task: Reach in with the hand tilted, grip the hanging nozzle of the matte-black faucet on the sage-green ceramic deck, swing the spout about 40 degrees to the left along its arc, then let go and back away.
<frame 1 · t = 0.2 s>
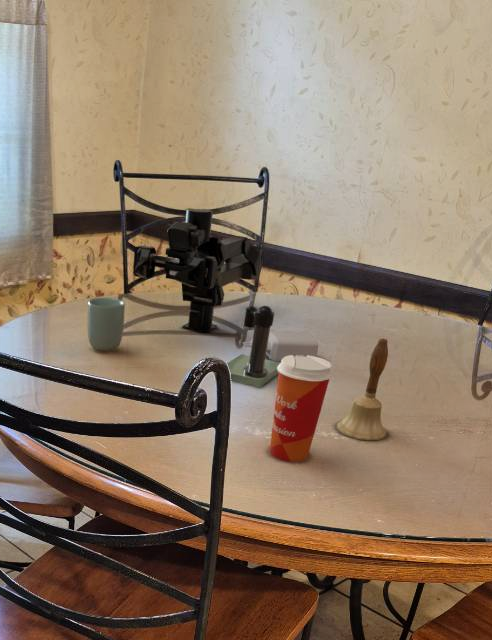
hand: (155, 273, 145), 17 cm above the table, tool horizontal, fingers open, 9 cm apart
spout: (257, 318, 139), point 12 cm above the table, hinge at 0.0°
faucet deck: (249, 373, 146), on the table
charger: (275, 357, 157), on the table
hand bell: (360, 431, 123), on the table
coffee cup: (288, 455, 114), on the table
cup: (104, 349, 156), on the table
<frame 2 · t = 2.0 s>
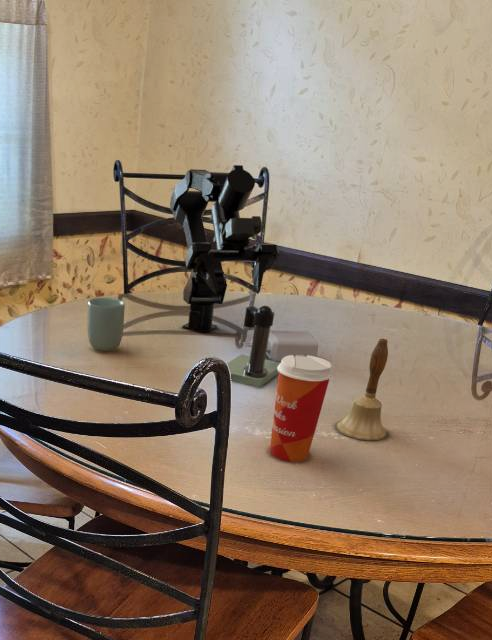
hand: (237, 292, 147), 14 cm above the table, tool tilted 45°, fingers open, 9 cm apart
nothing on the table moved.
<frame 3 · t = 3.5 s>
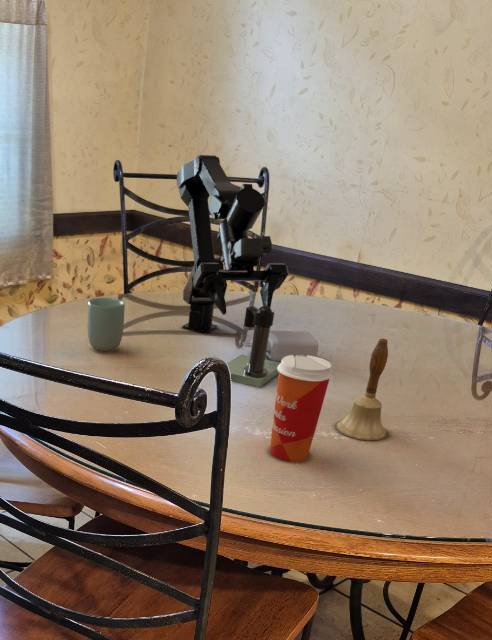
hand: (246, 313, 144), 11 cm above the table, tool tilted 45°, fingers open, 9 cm apart
nothing on the table moved.
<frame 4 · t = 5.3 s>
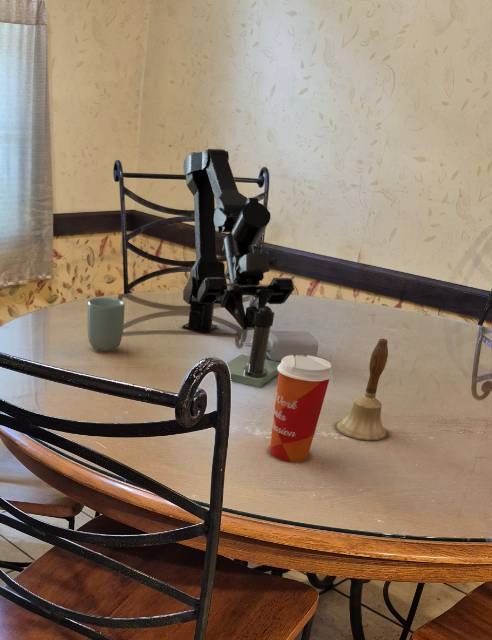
hand: (251, 329, 142), 9 cm above the table, tool tilted 45°, fingers closed on spout, 2 cm apart
spout: (257, 318, 139), point 12 cm above the table, hinge at 0.0°, touching gripper
everything else where it was.
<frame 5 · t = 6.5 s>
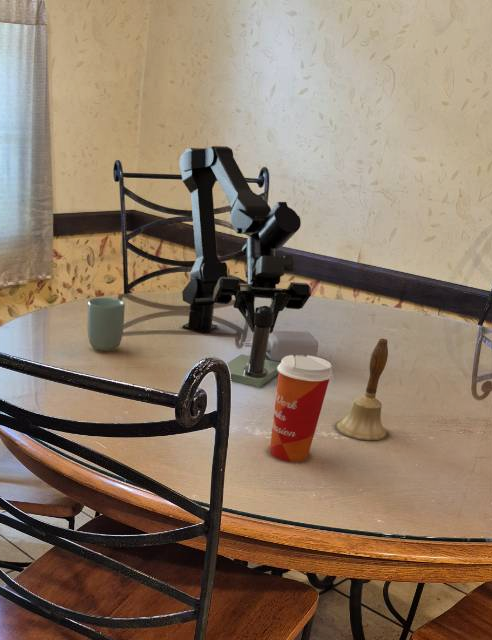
hand: (262, 331, 142), 9 cm above the table, tool tilted 45°, fingers open, 3 cm apart
spout: (262, 318, 139), point 12 cm above the table, hinge at 16.8°, touching gripper
everything else where it was.
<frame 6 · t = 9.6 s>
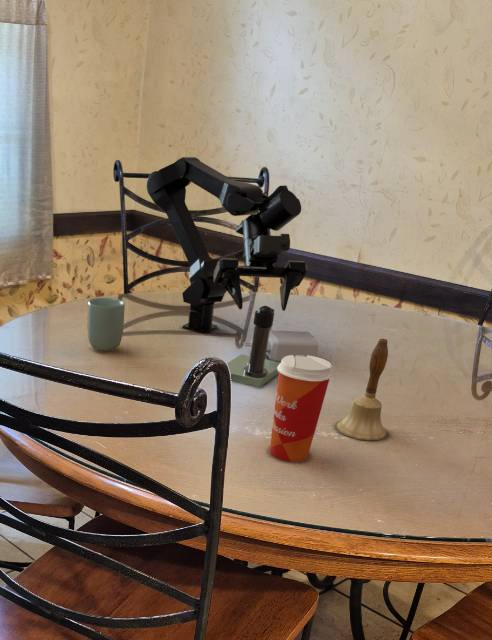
hand: (262, 309, 148), 11 cm above the table, tool tilted 45°, fingers open, 9 cm apart
spout: (265, 318, 139), point 12 cm above the table, hinge at 29.6°
everything else where it was.
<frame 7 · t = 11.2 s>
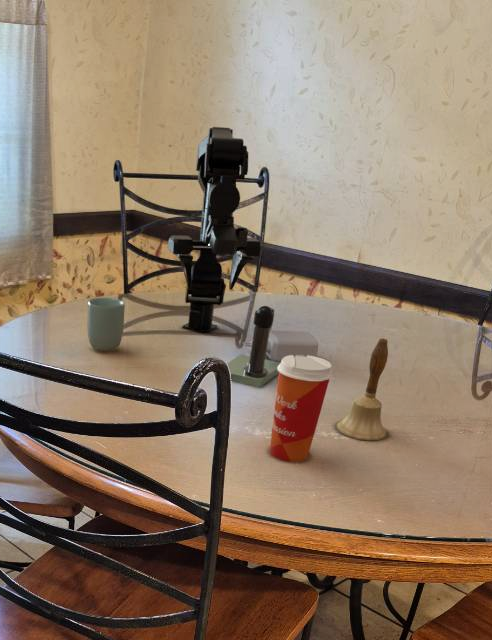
hand: (209, 289, 152), 13 cm above the table, tool pointing down, fingers open, 9 cm apart
nothing on the table moved.
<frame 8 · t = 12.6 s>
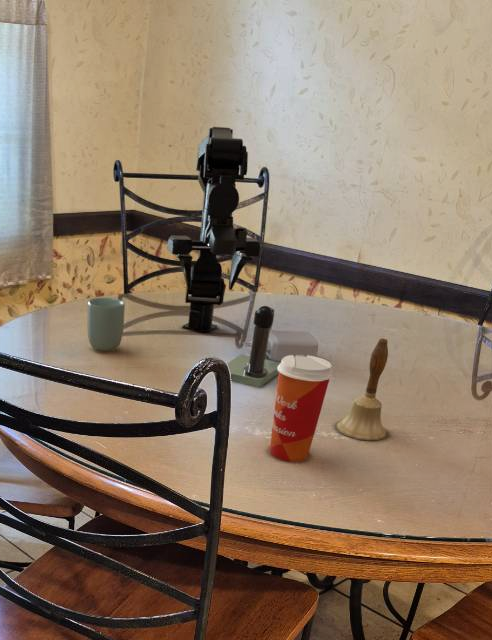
hand: (209, 289, 152), 13 cm above the table, tool pointing down, fingers open, 9 cm apart
nothing on the table moved.
at the end: spout at +30° (first picture: +0°); the gripper is holding nothing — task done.
